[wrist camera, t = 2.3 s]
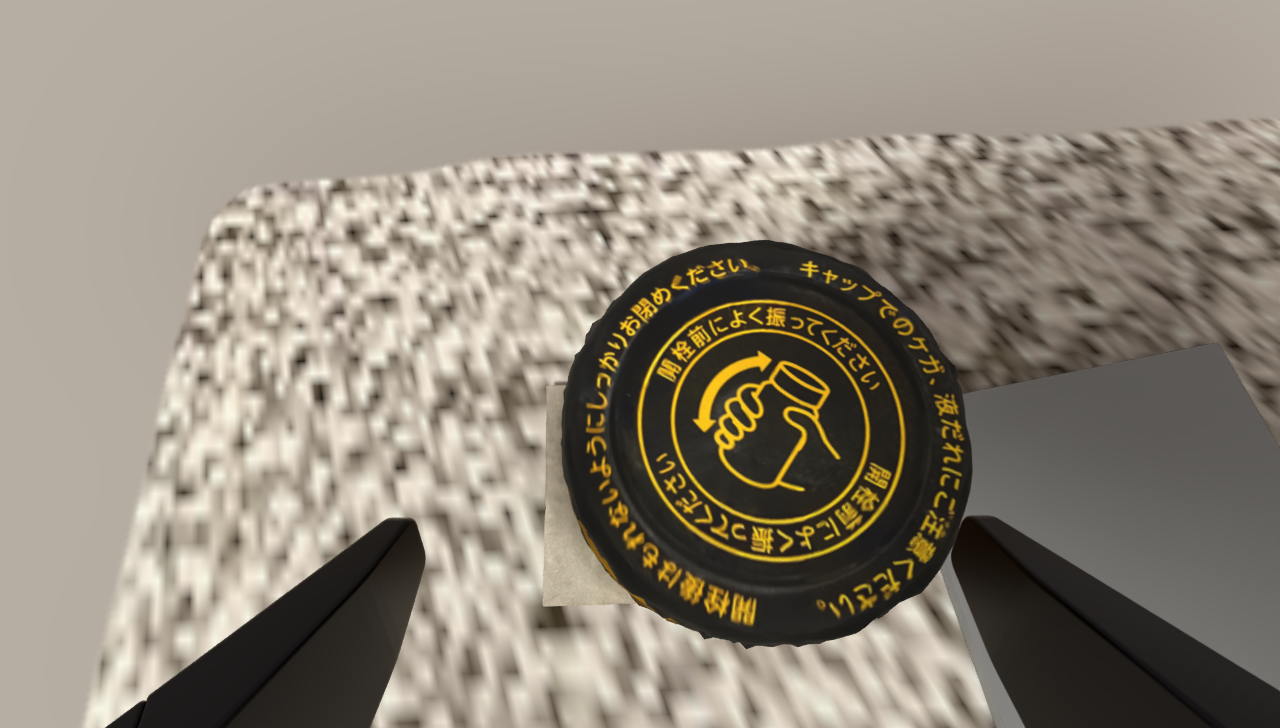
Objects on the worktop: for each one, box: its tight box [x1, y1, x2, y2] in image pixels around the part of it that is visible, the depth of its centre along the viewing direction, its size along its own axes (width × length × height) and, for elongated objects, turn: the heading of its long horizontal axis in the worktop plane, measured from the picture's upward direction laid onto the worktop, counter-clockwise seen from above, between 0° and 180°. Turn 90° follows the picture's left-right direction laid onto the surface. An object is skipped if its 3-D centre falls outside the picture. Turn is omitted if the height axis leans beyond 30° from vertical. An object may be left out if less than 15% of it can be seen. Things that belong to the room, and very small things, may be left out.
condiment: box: [543, 240, 973, 649], centre depth 12 cm, size 7×8×12 cm
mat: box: [940, 342, 1280, 728], centre depth 16 cm, size 12×12×1 cm
